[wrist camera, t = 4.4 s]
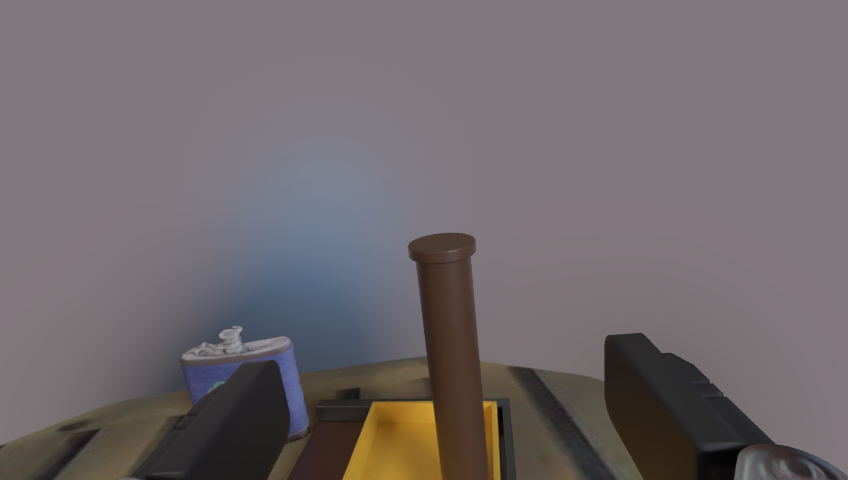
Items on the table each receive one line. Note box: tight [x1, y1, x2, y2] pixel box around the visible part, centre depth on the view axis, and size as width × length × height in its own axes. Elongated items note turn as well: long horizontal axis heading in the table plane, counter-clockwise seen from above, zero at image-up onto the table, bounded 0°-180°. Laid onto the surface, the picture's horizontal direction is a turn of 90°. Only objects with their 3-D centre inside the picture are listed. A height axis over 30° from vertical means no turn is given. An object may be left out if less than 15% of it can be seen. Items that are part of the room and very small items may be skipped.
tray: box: [342, 233, 501, 480], centre depth 24 cm, size 10×16×18 cm, turn 172°
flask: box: [180, 326, 310, 443], centre depth 35 cm, size 9×3×11 cm, turn 93°
